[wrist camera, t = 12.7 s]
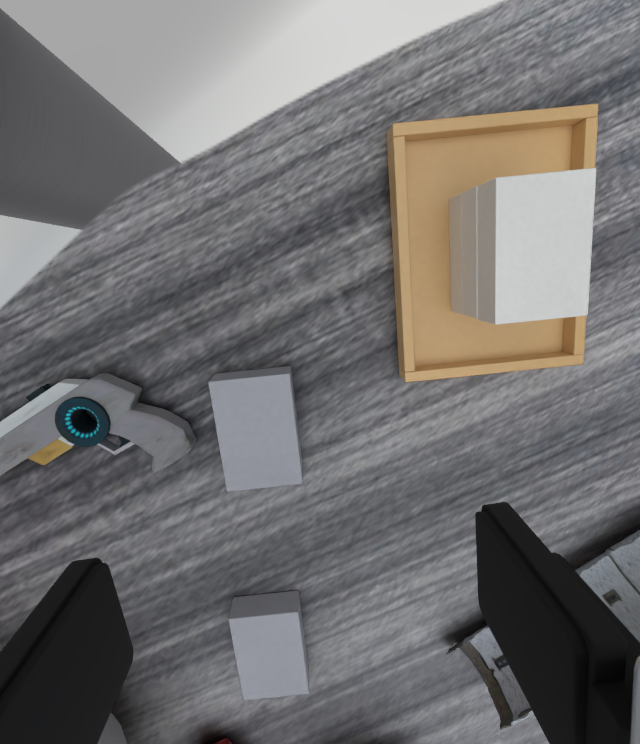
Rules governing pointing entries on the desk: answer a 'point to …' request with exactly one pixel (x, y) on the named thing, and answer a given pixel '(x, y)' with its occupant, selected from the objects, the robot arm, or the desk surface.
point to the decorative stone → (224, 741)
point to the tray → (431, 236)
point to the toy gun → (91, 423)
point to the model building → (611, 584)
